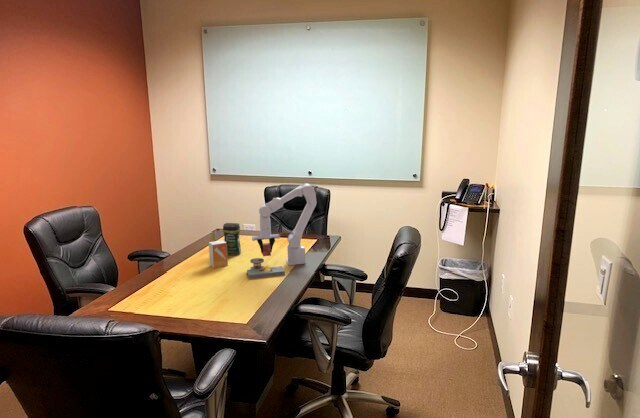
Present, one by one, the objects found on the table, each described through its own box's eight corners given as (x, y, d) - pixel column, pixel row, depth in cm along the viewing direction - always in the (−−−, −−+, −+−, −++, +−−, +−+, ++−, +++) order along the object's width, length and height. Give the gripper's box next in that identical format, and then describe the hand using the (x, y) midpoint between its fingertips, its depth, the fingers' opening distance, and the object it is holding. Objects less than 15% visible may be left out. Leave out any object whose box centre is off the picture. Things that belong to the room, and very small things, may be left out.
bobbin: (263, 266, 228) (262, 257, 227) (265, 270, 222) (264, 261, 221) (249, 267, 226) (249, 258, 225) (251, 272, 220) (251, 262, 219)
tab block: (269, 253, 233) (269, 242, 232) (270, 255, 230) (270, 244, 228) (262, 254, 232) (261, 243, 231) (263, 256, 228) (262, 245, 227)
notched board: (281, 269, 223) (281, 266, 222) (284, 274, 215) (284, 271, 215) (247, 273, 218) (246, 269, 217) (249, 278, 210) (248, 275, 210)
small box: (213, 268, 226) (212, 244, 223) (209, 265, 231) (208, 242, 229) (228, 265, 230) (227, 242, 228) (224, 262, 235) (222, 239, 233)
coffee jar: (222, 255, 248) (220, 224, 244) (227, 251, 256) (225, 221, 252) (238, 256, 246) (236, 225, 243) (242, 252, 254) (241, 221, 250)
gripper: (277, 225, 234) (278, 248, 236) (250, 227, 230) (252, 251, 232) (279, 228, 227) (280, 252, 230) (252, 230, 223) (253, 255, 226)
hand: (266, 252), depth 231 cm, fingers closed on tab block, 4 cm apart
